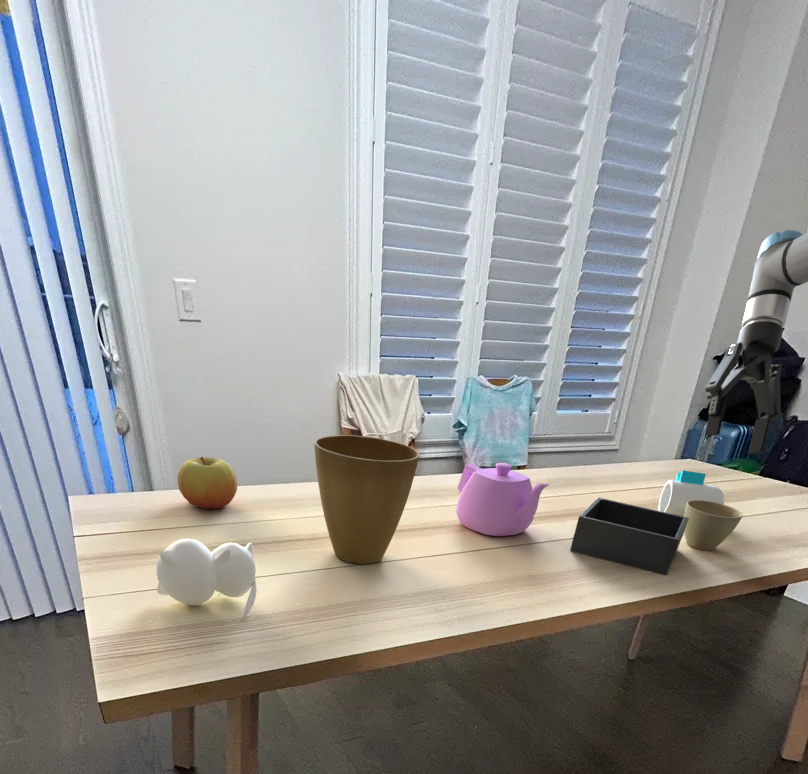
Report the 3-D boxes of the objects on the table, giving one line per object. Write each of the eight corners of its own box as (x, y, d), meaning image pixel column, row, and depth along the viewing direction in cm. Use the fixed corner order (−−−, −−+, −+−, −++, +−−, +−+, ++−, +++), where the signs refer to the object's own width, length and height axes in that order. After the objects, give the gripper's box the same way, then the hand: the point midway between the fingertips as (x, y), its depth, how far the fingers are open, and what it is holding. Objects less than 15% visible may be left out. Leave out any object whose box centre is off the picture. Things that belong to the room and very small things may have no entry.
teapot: (510, 551, 107) (524, 484, 100) (432, 515, 119) (440, 453, 112) (559, 540, 114) (575, 477, 108) (481, 507, 126) (491, 449, 120)
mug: (735, 474, 129) (677, 467, 129) (725, 520, 131) (667, 513, 131) (711, 484, 141) (657, 477, 141) (702, 527, 142) (649, 520, 143)
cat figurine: (253, 520, 78) (151, 523, 72) (277, 592, 75) (172, 601, 69) (242, 563, 85) (148, 569, 80) (263, 631, 82) (167, 641, 77)
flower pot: (669, 546, 119) (683, 507, 115) (677, 533, 126) (690, 496, 122) (725, 559, 115) (741, 520, 111) (729, 545, 123) (744, 508, 119)
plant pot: (373, 583, 90) (382, 465, 81) (291, 554, 95) (291, 441, 86) (425, 556, 101) (438, 450, 92) (349, 532, 106) (354, 429, 97)
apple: (174, 497, 112) (169, 449, 107) (229, 495, 116) (227, 449, 111) (187, 515, 105) (182, 465, 100) (245, 512, 109) (243, 463, 105)
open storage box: (677, 549, 117) (689, 517, 114) (666, 575, 105) (679, 540, 102) (589, 528, 122) (598, 497, 119) (569, 550, 110) (578, 516, 107)
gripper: (781, 355, 131) (755, 462, 134) (702, 311, 119) (676, 429, 123) (818, 344, 124) (789, 457, 128) (739, 297, 112) (709, 423, 116)
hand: (733, 444), depth 125 cm, fingers open, 13 cm apart
